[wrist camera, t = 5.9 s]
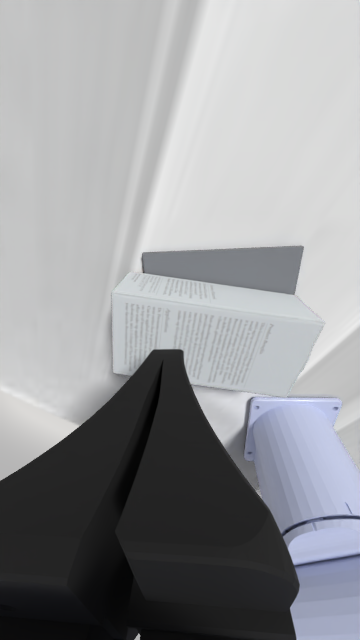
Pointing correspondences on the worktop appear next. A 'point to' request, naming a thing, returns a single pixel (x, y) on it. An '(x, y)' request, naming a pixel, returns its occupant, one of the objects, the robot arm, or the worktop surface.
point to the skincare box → (214, 332)
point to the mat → (232, 267)
